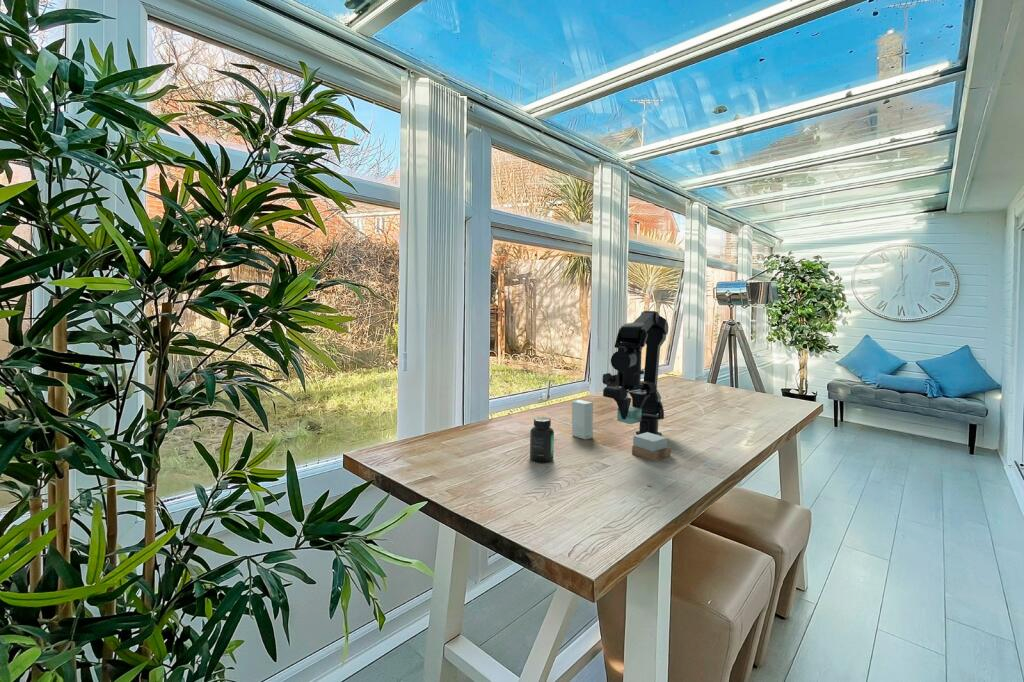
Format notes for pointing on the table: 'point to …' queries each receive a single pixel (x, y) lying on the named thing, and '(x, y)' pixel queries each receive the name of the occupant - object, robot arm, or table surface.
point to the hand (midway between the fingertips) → (629, 417)
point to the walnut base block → (651, 453)
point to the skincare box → (582, 419)
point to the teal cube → (631, 415)
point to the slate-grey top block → (650, 441)
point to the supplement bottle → (541, 441)
